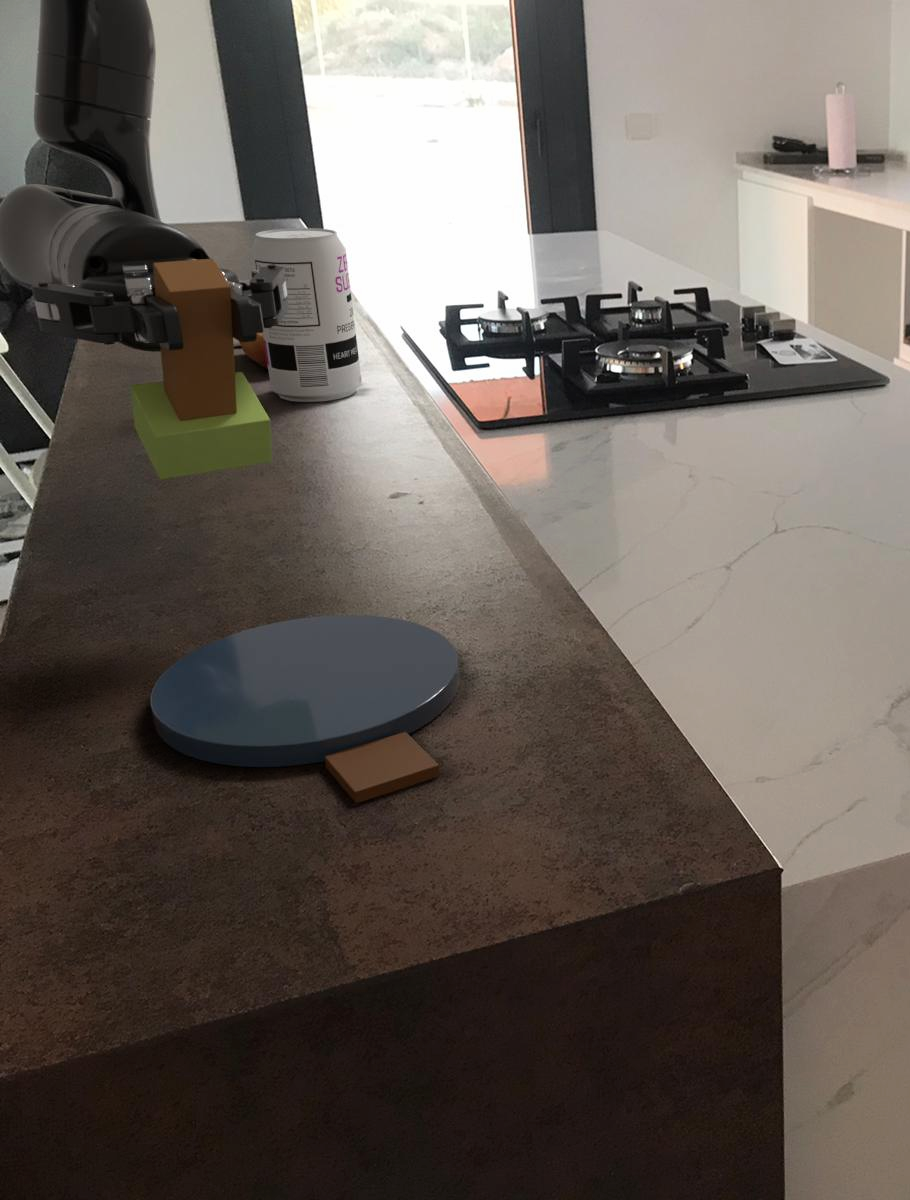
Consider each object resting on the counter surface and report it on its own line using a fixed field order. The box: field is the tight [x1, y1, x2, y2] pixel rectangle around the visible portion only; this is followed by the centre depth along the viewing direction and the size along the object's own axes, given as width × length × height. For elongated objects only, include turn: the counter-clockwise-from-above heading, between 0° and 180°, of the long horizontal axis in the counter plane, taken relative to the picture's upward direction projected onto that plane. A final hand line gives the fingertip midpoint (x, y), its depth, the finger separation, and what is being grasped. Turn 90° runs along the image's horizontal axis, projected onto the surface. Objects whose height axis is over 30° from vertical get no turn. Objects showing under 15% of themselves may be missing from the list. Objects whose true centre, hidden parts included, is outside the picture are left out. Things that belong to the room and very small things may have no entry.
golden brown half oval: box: [239, 332, 268, 370], centre depth 134 cm, size 5×13×5 cm, turn 32°
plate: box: [149, 614, 461, 768], centre depth 67 cm, size 15×15×1 cm
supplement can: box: [250, 227, 363, 403], centre depth 121 cm, size 8×8×15 cm
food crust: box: [324, 732, 441, 804], centre depth 60 cm, size 4×4×1 cm
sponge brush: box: [130, 258, 272, 481], centre depth 70 cm, size 6×5×11 cm
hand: (211, 325), depth 66 cm, fingers closed on sponge brush, 3 cm apart
